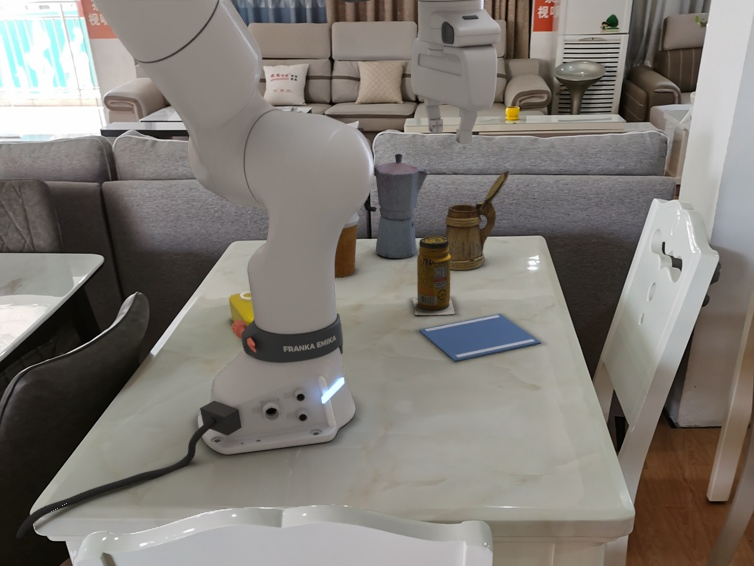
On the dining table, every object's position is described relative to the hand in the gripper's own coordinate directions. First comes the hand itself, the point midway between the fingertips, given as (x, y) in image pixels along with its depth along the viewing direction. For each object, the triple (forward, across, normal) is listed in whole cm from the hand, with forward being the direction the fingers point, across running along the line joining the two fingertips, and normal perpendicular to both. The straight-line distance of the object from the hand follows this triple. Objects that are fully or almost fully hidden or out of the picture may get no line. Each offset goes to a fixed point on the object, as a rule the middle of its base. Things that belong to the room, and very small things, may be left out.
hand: (449, 137), depth 114 cm
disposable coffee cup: (+31, -41, -5) cm, 52 cm away
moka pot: (+31, -47, +10) cm, 57 cm away
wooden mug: (+31, -33, +22) cm, 50 cm away
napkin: (+31, +2, +5) cm, 32 cm away
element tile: (+31, -19, -24) cm, 44 cm away
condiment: (+31, -14, +4) cm, 35 cm away
